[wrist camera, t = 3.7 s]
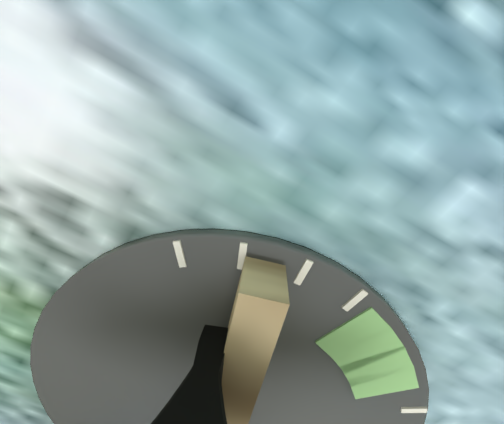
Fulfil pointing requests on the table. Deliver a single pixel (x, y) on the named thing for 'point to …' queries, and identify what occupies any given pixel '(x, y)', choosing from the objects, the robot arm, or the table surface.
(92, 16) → the table surface
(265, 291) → the pointer
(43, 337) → the dial
